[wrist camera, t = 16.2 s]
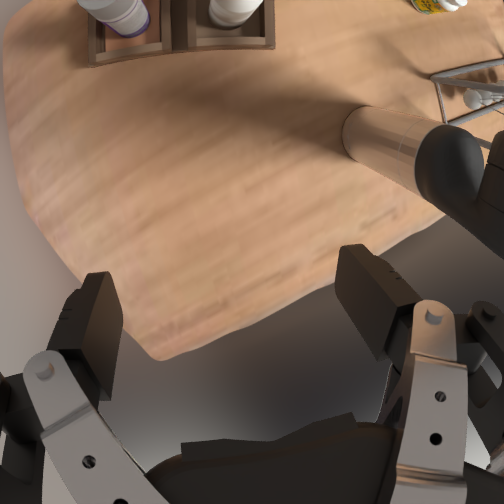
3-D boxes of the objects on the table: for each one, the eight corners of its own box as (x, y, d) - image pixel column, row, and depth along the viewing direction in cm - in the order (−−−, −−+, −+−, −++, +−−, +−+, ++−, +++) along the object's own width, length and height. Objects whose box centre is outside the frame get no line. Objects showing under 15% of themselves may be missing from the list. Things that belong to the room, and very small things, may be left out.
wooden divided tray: (270, -13, 29) (297, -43, 19) (272, 49, 34) (301, 36, 24) (92, 3, 25) (61, -21, 16) (92, 67, 30) (58, 61, 21)
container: (111, 15, 26) (70, -20, 13) (146, 1, 26) (123, -44, 13) (119, 44, 28) (79, 20, 16) (154, 30, 29) (133, -4, 16)
